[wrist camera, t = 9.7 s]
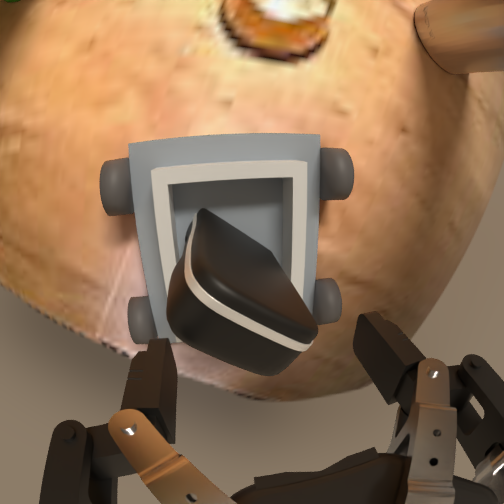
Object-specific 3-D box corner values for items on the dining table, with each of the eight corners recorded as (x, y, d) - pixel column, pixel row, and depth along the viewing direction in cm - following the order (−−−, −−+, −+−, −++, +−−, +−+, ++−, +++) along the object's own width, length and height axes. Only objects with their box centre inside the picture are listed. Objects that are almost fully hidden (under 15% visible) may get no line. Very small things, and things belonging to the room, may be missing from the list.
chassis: (330, 136, 21) (354, 135, 18) (320, 315, 27) (336, 339, 24) (113, 147, 19) (96, 147, 15) (145, 334, 25) (139, 362, 21)
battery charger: (171, 245, 21) (147, 343, 10) (199, 202, 20) (196, 270, 10) (246, 288, 23) (281, 396, 13) (274, 252, 22) (334, 344, 12)
